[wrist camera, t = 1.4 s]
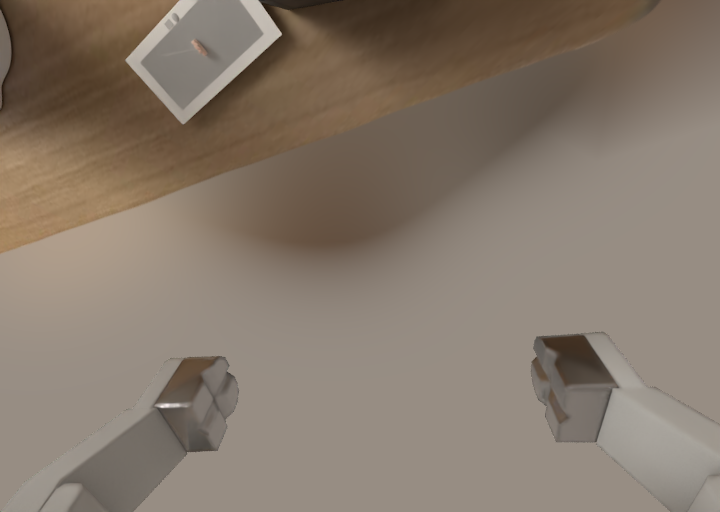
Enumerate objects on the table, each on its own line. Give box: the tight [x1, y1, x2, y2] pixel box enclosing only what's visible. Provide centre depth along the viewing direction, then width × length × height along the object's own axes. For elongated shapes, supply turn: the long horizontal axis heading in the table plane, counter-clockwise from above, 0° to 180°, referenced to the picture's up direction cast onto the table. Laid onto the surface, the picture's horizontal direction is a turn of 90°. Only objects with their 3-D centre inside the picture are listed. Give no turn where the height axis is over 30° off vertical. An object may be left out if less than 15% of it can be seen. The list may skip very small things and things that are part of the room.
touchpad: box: [125, 0, 282, 125], centre depth 37 cm, size 8×15×2 cm, turn 126°
